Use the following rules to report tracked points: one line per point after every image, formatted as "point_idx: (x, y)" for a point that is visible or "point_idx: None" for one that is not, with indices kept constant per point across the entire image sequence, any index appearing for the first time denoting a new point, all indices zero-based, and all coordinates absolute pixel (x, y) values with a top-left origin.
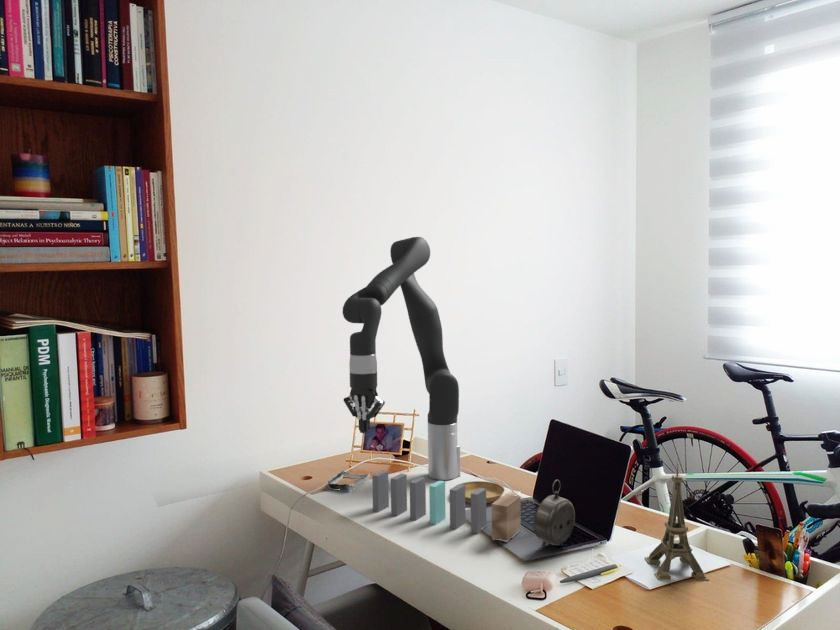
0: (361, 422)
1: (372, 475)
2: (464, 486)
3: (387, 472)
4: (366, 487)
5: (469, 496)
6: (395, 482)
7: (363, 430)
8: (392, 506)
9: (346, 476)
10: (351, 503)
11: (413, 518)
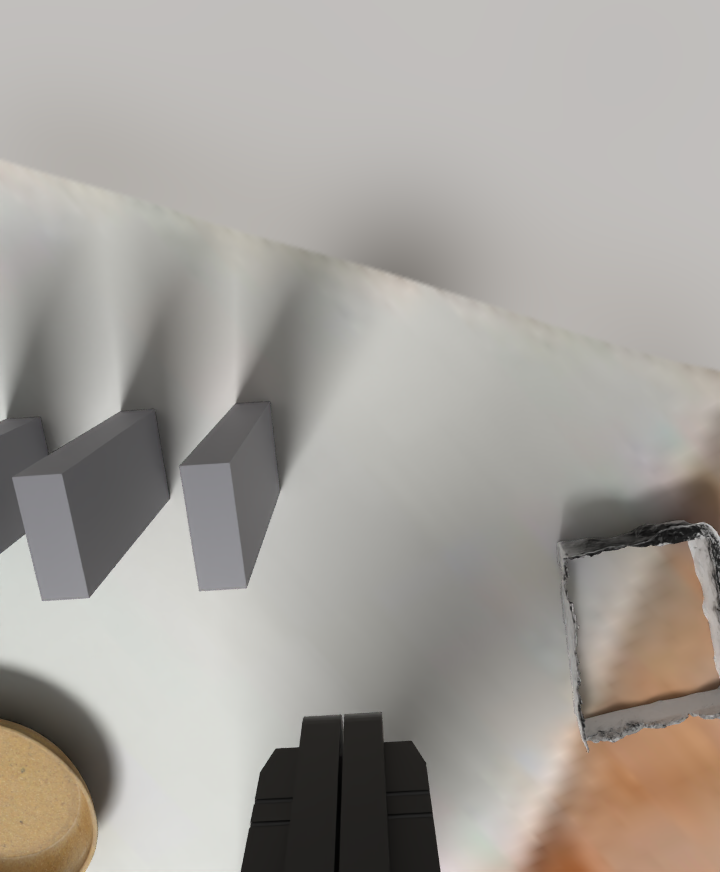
0: (348, 861)
1: (227, 461)
2: None
3: (200, 579)
4: (521, 636)
5: (27, 774)
6: (32, 469)
7: (312, 741)
8: (129, 421)
9: (710, 696)
10: (440, 424)
11: (16, 419)
